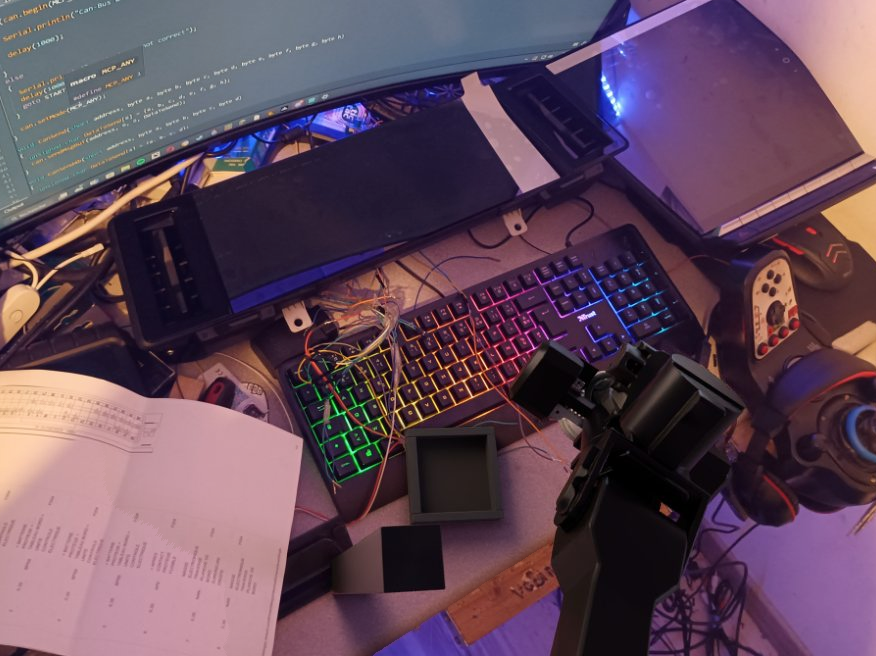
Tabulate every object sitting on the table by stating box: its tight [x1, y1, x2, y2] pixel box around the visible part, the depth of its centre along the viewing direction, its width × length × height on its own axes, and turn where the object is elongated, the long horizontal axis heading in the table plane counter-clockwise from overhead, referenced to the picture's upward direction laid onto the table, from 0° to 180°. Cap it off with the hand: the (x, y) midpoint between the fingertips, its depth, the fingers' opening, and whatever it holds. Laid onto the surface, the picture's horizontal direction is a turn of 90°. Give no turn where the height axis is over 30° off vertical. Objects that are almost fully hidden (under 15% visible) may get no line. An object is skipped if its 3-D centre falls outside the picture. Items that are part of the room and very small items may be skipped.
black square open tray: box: [404, 426, 505, 525], centre depth 73 cm, size 9×9×2 cm
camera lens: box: [558, 370, 612, 442], centre depth 71 cm, size 6×6×8 cm
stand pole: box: [331, 523, 446, 595], centre depth 52 cm, size 3×3×38 cm
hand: (616, 391), depth 69 cm, fingers closed on camera lens, 6 cm apart
